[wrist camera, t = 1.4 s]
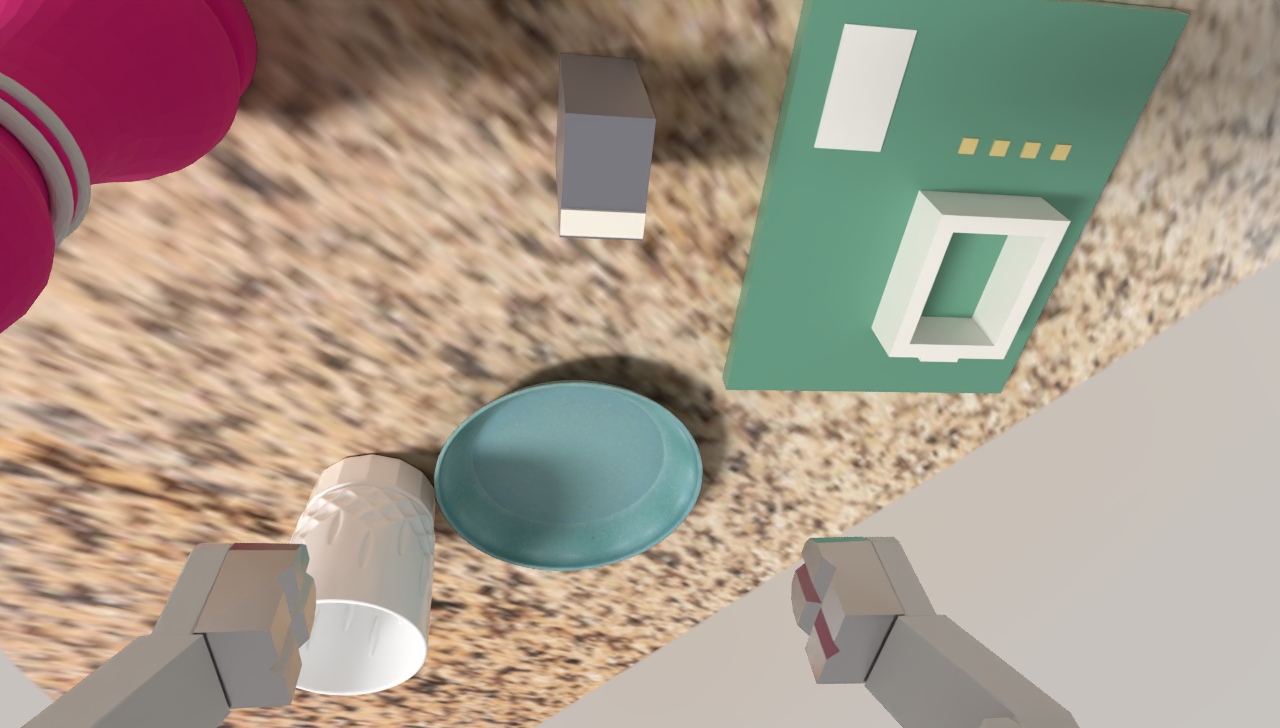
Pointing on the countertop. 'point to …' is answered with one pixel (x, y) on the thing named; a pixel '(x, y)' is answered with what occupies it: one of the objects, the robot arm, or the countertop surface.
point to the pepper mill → (104, 111)
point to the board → (933, 185)
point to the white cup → (368, 575)
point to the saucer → (568, 475)
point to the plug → (602, 148)
